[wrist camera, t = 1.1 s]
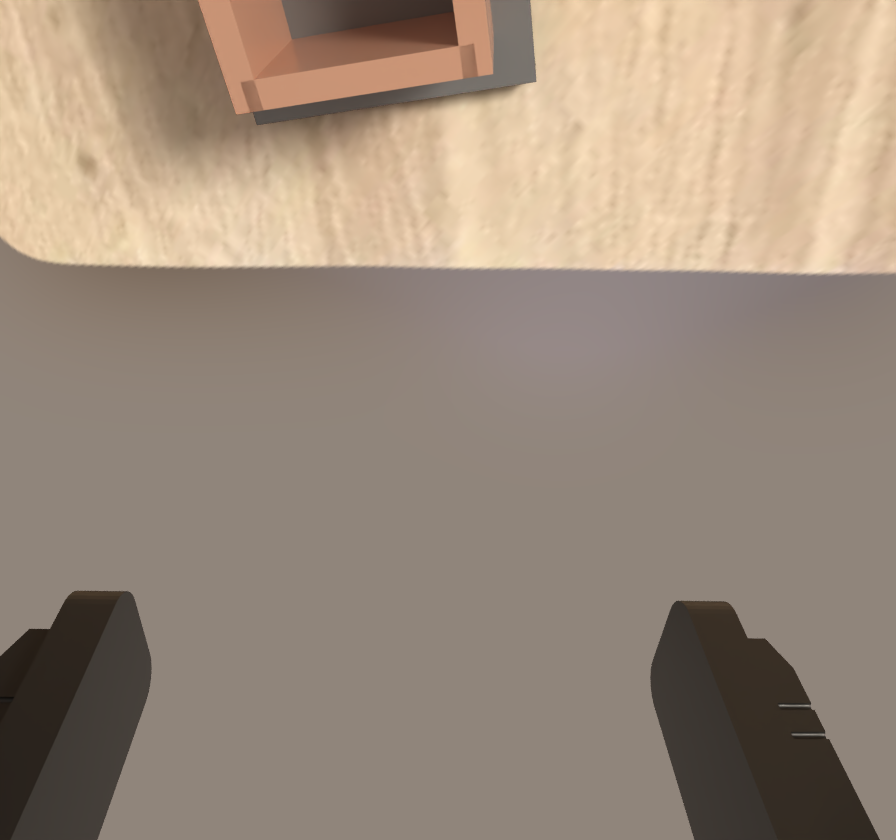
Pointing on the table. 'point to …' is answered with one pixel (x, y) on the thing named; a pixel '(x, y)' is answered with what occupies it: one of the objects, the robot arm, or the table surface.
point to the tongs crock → (364, 52)
